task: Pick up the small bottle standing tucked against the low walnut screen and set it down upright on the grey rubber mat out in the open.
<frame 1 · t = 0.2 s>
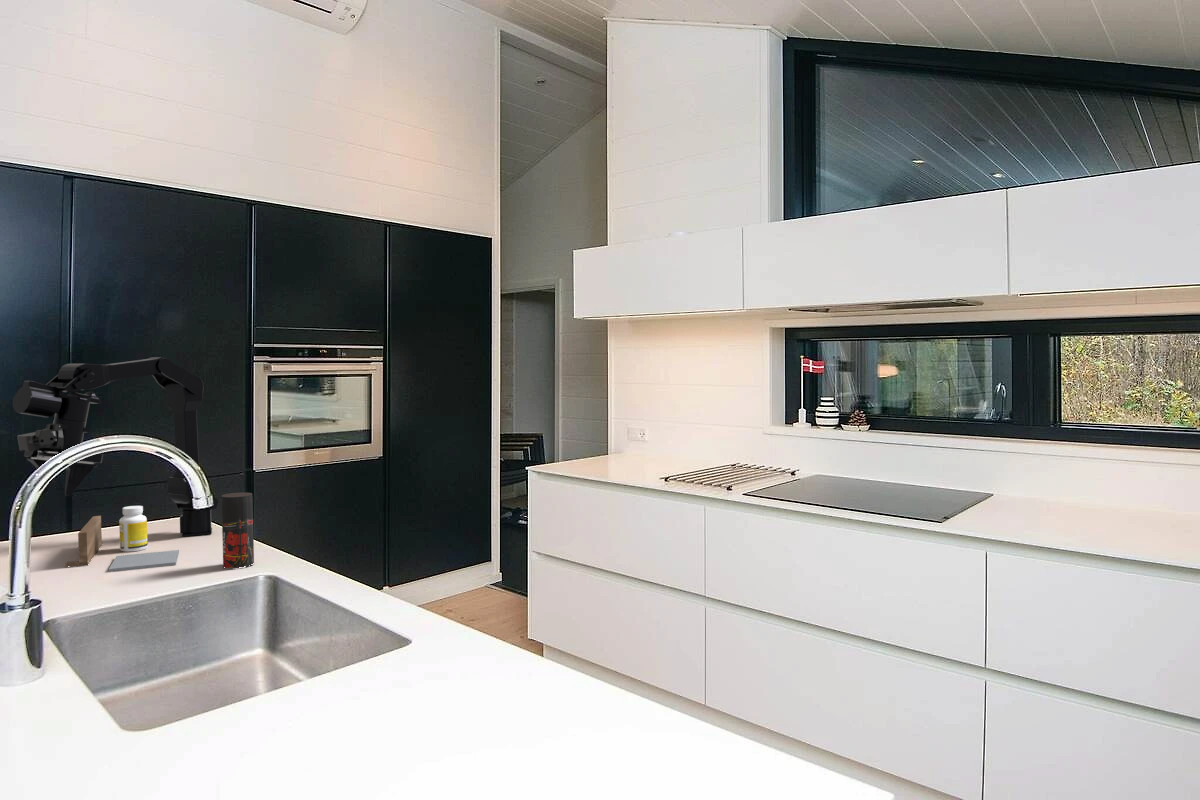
hand: (55, 494, 160), 15 cm above the countertop, tool pointing down, fingers open, 9 cm apart
mat: (145, 561, 164), on the countertop
deodorant: (238, 566, 161), on the countertop
screen: (91, 555, 170), on the countertop
supplement bottle: (134, 550, 175), on the countertop
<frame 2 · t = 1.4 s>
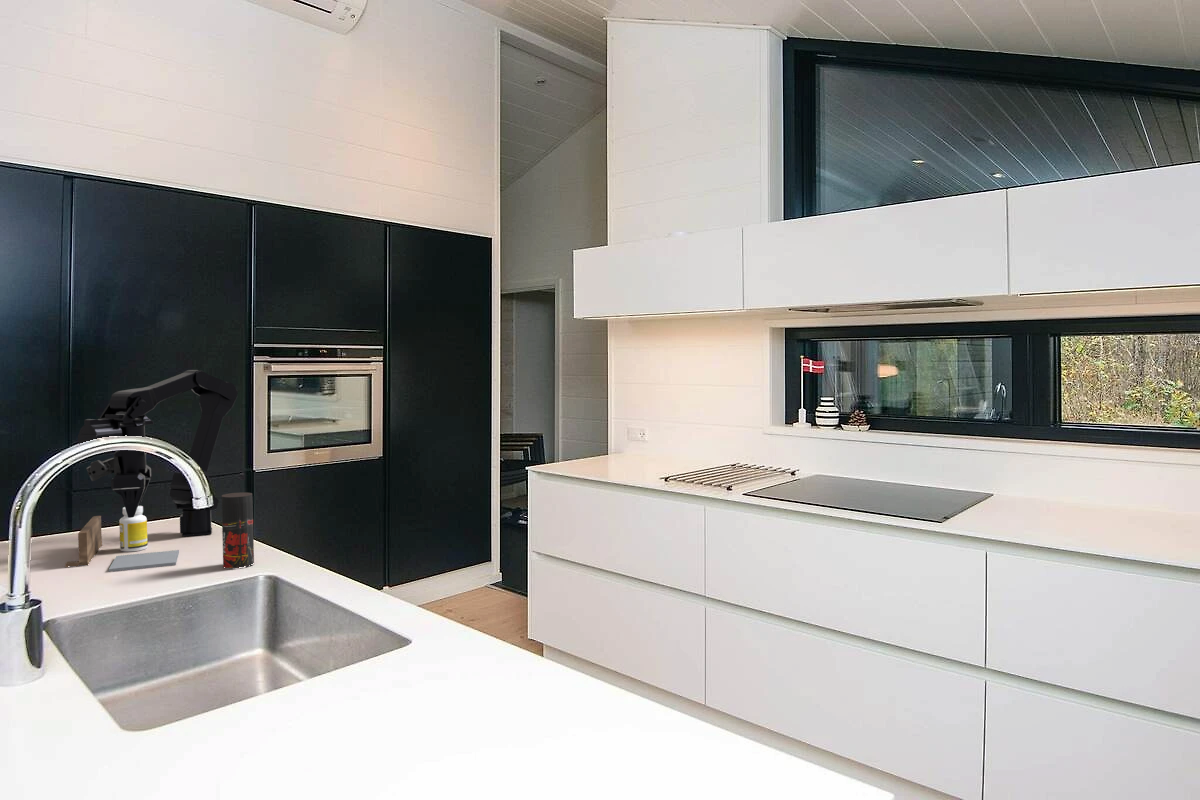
hand: (133, 513, 175), 8 cm above the countertop, tool pointing down, fingers open, 9 cm apart
nothing on the countertop moved.
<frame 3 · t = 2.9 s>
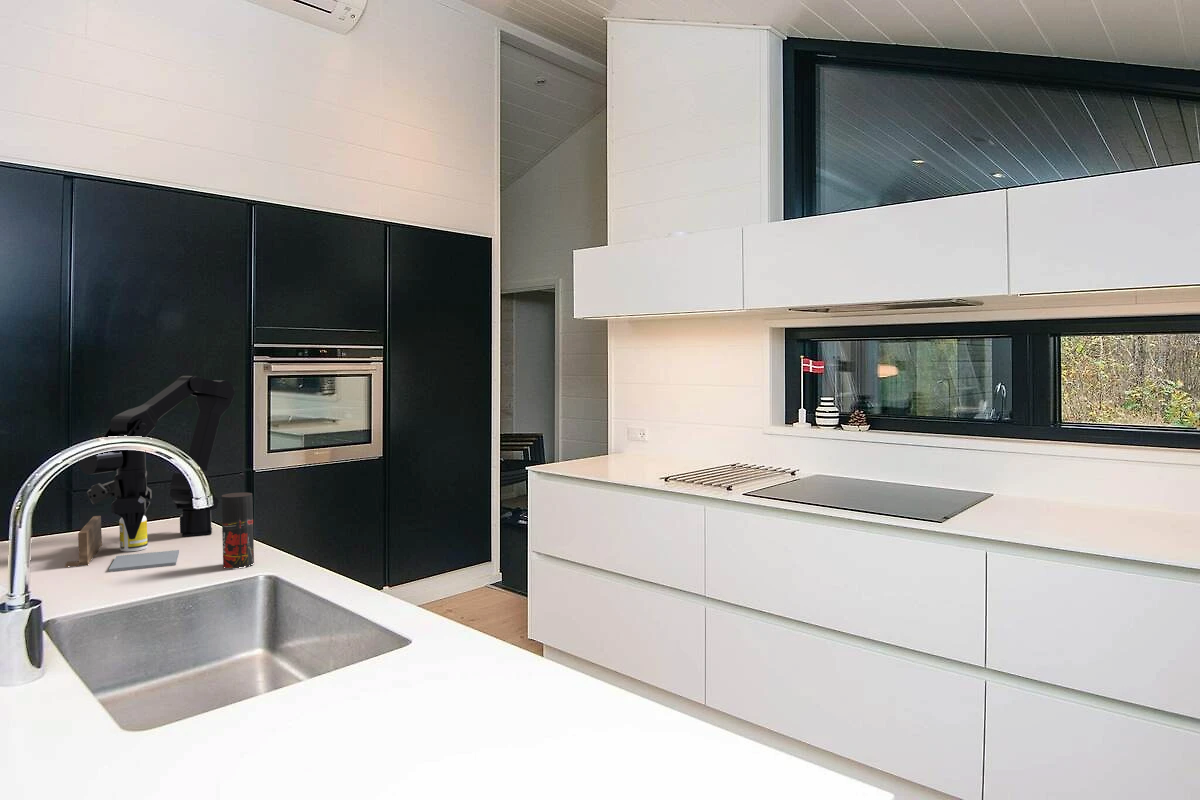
hand: (133, 536, 175), 3 cm above the countertop, tool pointing down, fingers closed on supplement bottle, 5 cm apart
supplement bottle: (134, 550, 175), on the countertop, touching gripper
everything else where it was.
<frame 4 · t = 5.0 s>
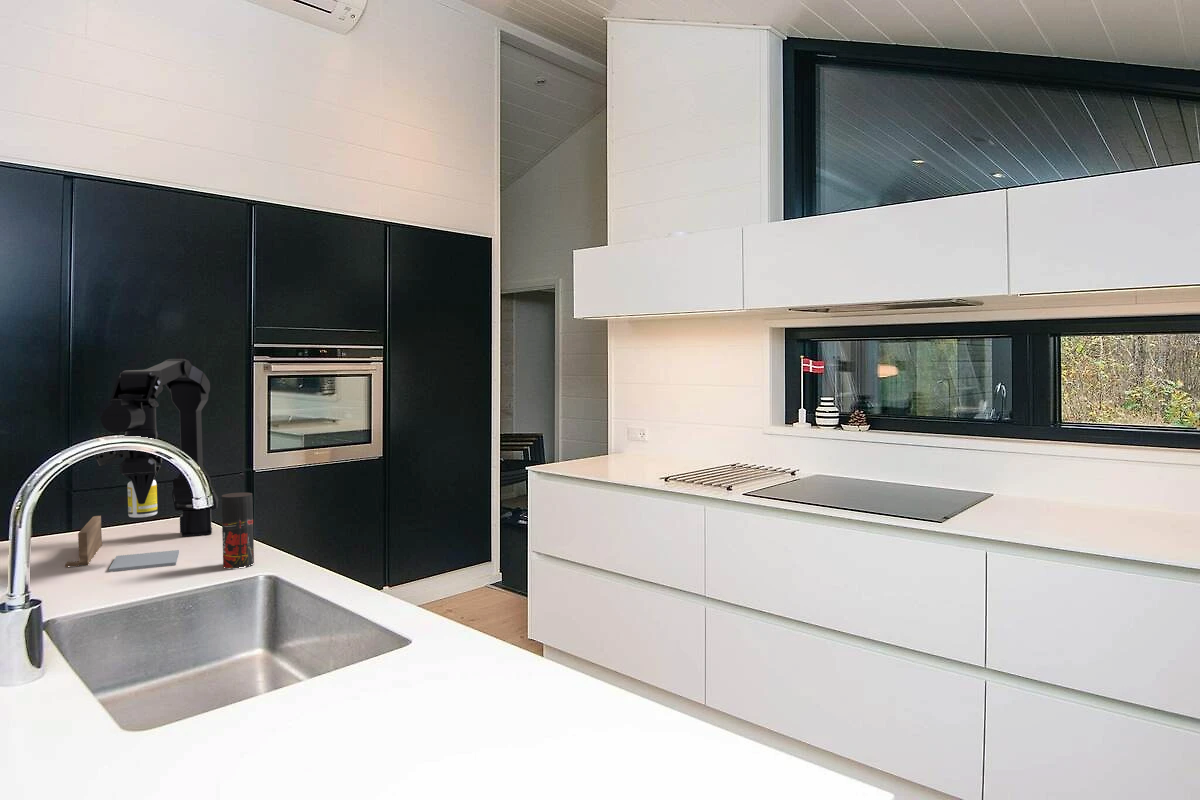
hand: (143, 501, 164), 13 cm above the countertop, tool pointing down, fingers closed on supplement bottle, 5 cm apart
supplement bottle: (143, 516, 164), point 10 cm above the countertop, touching gripper
everything else where it was.
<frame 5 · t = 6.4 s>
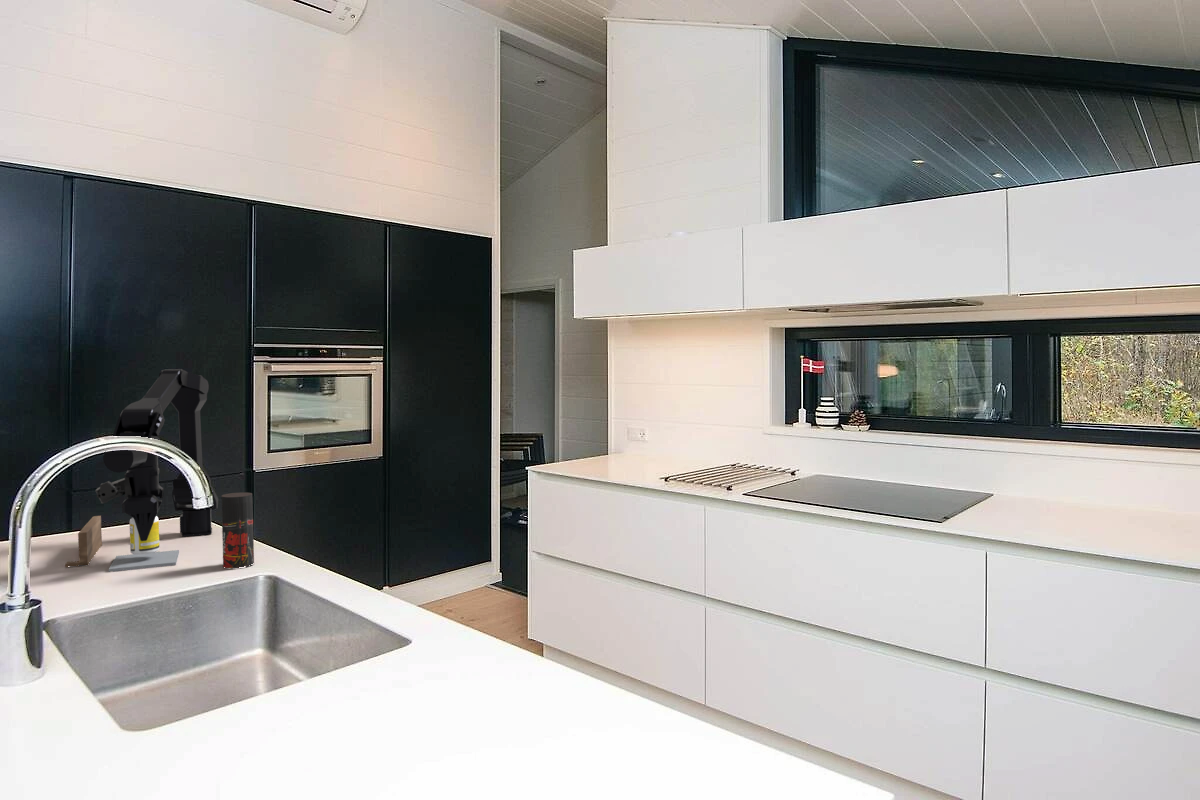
hand: (145, 537, 164), 5 cm above the countertop, tool pointing down, fingers closed on supplement bottle, 5 cm apart
supplement bottle: (145, 552, 164), point 2 cm above the countertop, touching gripper
everything else where it was.
when the fingers open (5 cm above the countertop, at t = 7.3 s): supplement bottle drops 1 cm, resting on mat.
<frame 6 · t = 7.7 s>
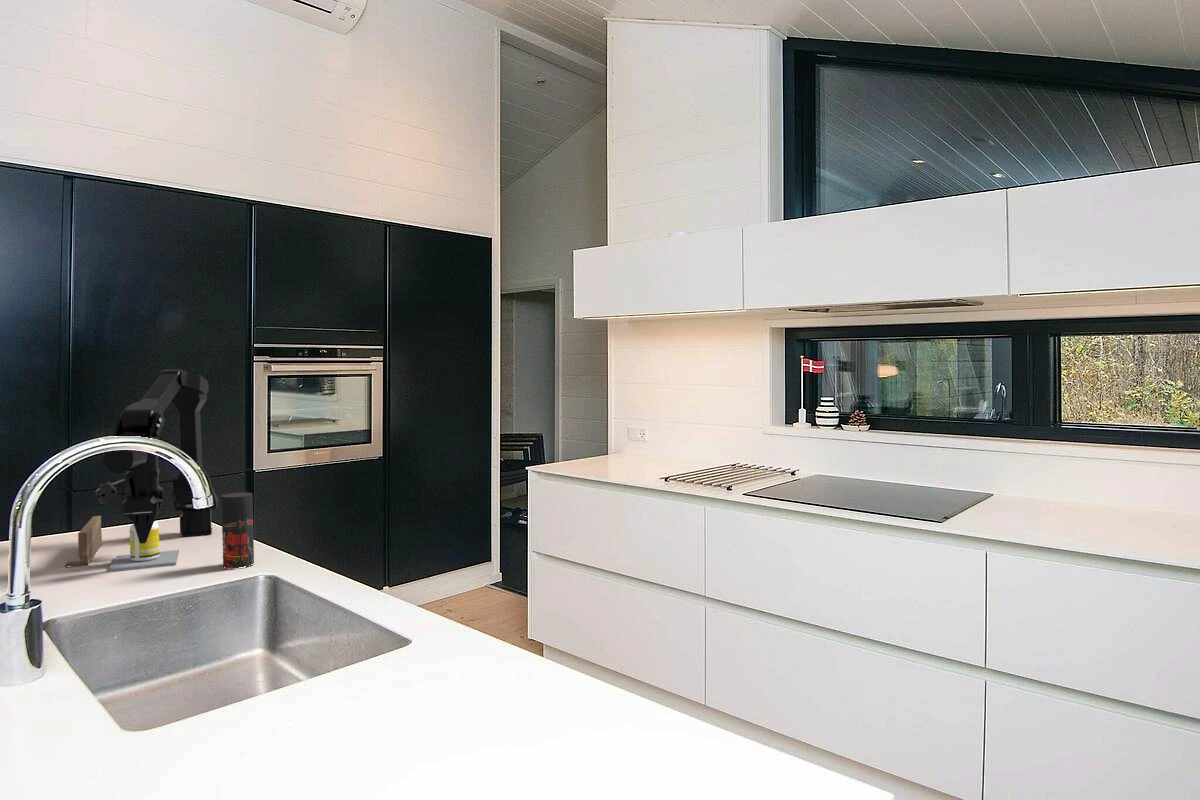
hand: (145, 538, 164), 5 cm above the countertop, tool pointing down, fingers open, 9 cm apart
supplement bottle: (145, 559, 164), resting on mat
everything else where it was.
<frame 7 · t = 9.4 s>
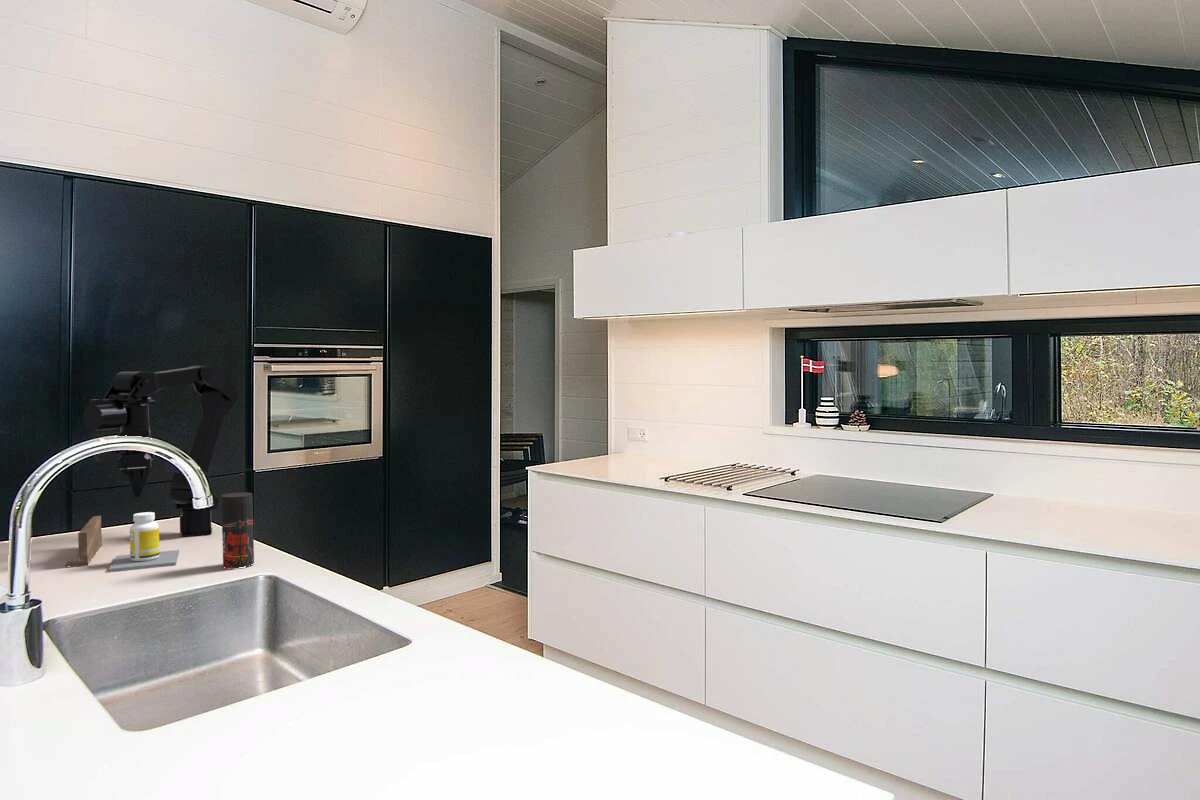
hand: (138, 493, 176), 13 cm above the countertop, tool pointing down, fingers open, 9 cm apart
nothing on the countertop moved.
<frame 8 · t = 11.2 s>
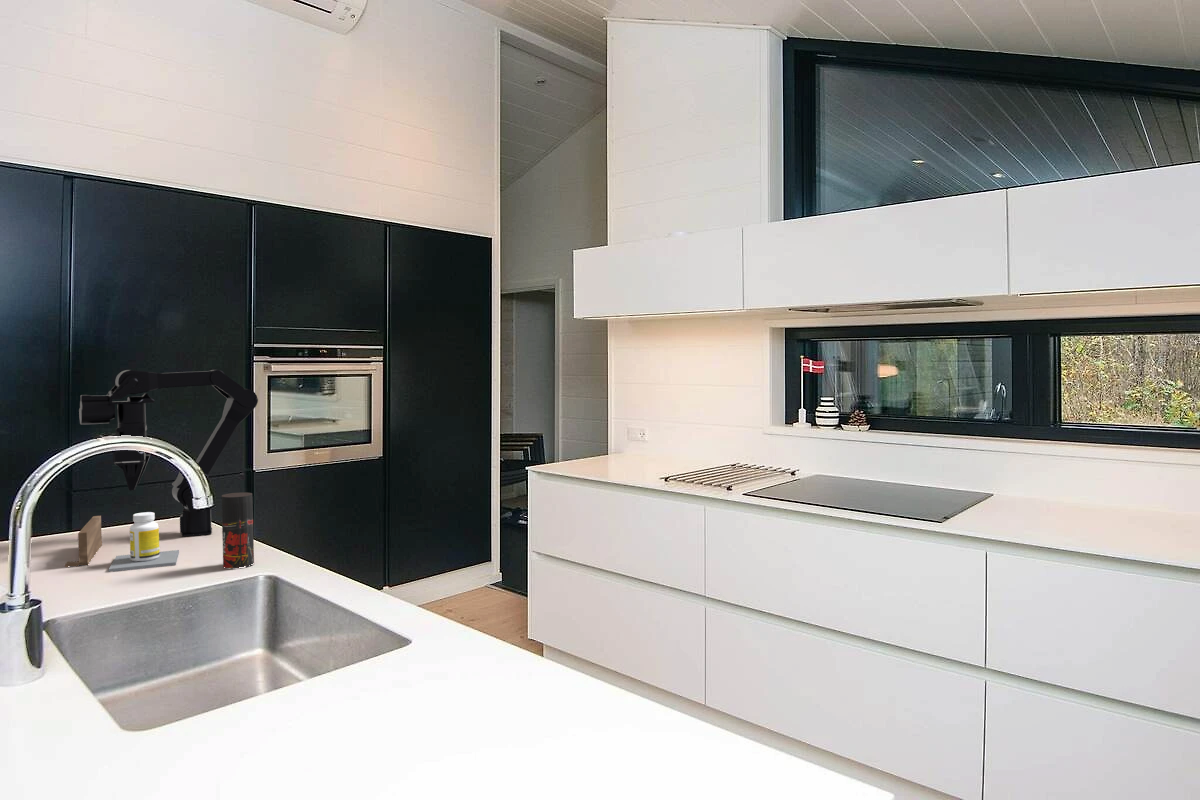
hand: (133, 487, 183), 13 cm above the countertop, tool pointing down, fingers open, 9 cm apart
nothing on the countertop moved.
at the end: supplement bottle inside the target area on the mat (0.1 cm from its centre), point 0.4 cm above the mat's base; supplement bottle tilted 0°; the gripper is holding nothing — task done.
